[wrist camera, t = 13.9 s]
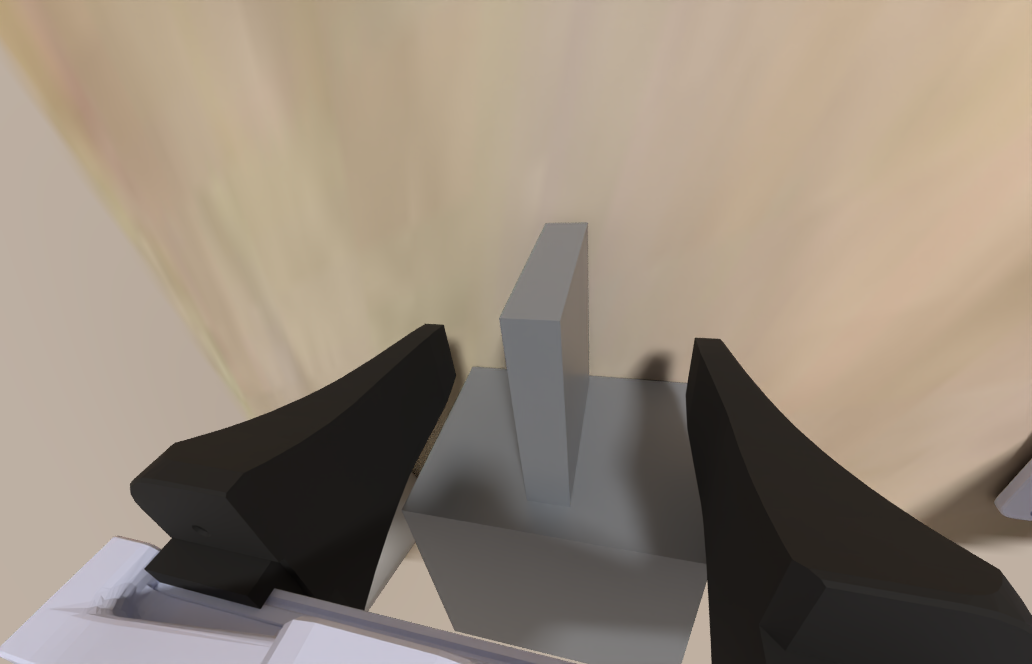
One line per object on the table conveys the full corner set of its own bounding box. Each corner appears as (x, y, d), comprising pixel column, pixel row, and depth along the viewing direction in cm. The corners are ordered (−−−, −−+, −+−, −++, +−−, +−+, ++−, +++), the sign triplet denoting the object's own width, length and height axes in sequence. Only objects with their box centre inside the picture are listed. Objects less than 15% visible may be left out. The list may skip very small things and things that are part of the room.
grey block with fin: (666, 515, 19) (674, 685, 14) (498, 489, 21) (454, 630, 16) (717, 215, 11) (774, 363, 6) (442, 219, 13) (324, 335, 8)
